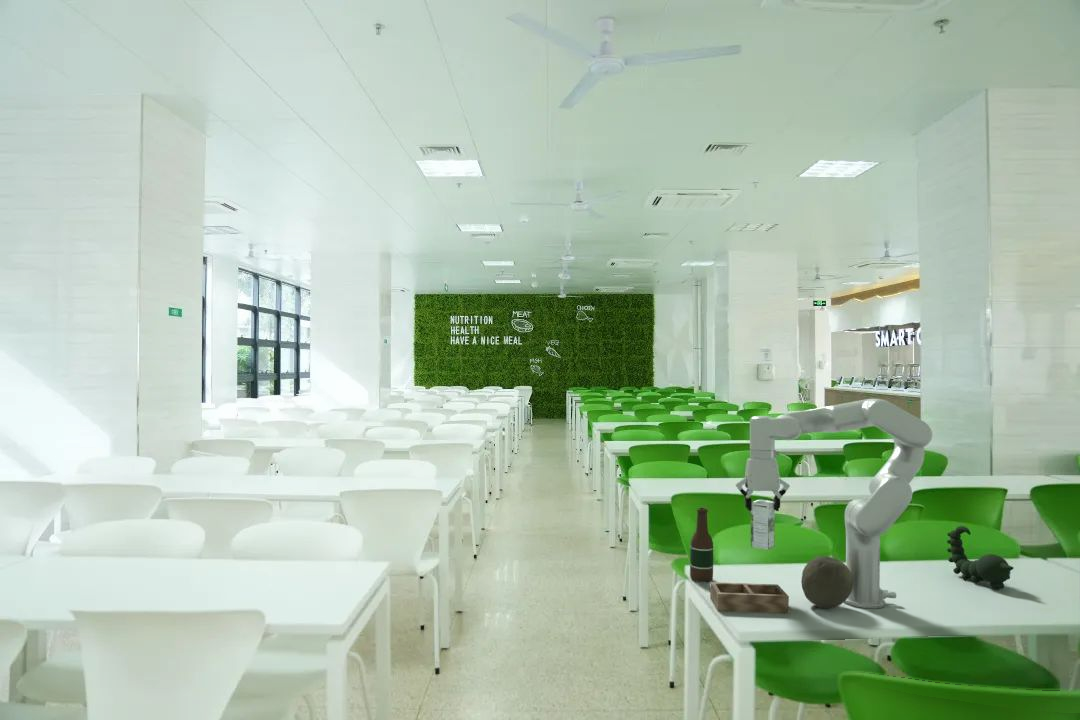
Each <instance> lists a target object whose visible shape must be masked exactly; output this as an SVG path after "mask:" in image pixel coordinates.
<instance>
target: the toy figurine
mask: <svg viewBox="0 0 1080 720" xmlns="http://www.w3.org/2000/svg"><path fill="white" fill-rule="evenodd" d="M963 533H967V534H968V535H969V536H970V535H971V531H970V529H969V528H968V527H967V526H964V525H959V526H957V527H955V529H953V530H951V531H950V532H947V536H948V537H950V538H949V539H948V540H946V542H947V544H948V545H950V548H947V549H946V551H947V553H951V557H948V562H949V563H954V564H955V567H954V568H953V573H954V574H955V575H960V573H961V579H962V580H963V581H967V580H970V581H971V582H972V583H974V584H978V583H979V582H986V583H989V587H990V588H991V589H993V590H995V591H997V590H998V591H1000V590H1002V589H1004V587H1005V584H1004V583H1005V582H1006V581H1008V580H1010V579H1011V571H1013V570H1014V568H1015V567H1014V566H1011V565H1010V564H1009V563H1008V562H1007V560H1006V559H1004V558H1003V557H1001V556H1000V555H998V554H994V553H988V554H984V555H982V556H980V557H979V558H978V559H977V560H969V559H968V557H967V555H966V553H965V548H964V547H963V540H962V538H961V537H962V535H961V534H963Z"/></svg>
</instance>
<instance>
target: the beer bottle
mask: <svg viewBox="0 0 1080 720" xmlns="http://www.w3.org/2000/svg"><path fill="white" fill-rule="evenodd" d="M696 512H697V515H696V528H695V532H693V534H692V535H691V538H690V545H689V546H690V547H689V550H690V551H689V577H690V579H691V580H692V581H694V582H698V583H710V582H713V580H714V579H713V578H714V542H713V538H712V536H711V535H710V533H709V529H708V512H709V511H708V508H707V507H698V508H696Z"/></svg>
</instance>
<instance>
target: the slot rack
mask: <svg viewBox="0 0 1080 720" xmlns="http://www.w3.org/2000/svg"><path fill="white" fill-rule="evenodd" d="M709 583H710V587H709V588H710V589H709V599H710V601H711V602H712V604H713V606H714V607H715V610H716V611H717V612H741V613H765V614H766V613H768V614H772V613H773V614H789V607H790V606H789V603H790V599H789V598H790V597H789V594H787V593H786V592H785V590H784V589H782V587H781V586H780V585H779V584H778V583H777V584H775V583H774V584H773V583H772V584H770V583H741V582H717V581H715V582H713V581H710V582H709Z"/></svg>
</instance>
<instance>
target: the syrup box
mask: <svg viewBox="0 0 1080 720" xmlns="http://www.w3.org/2000/svg"><path fill="white" fill-rule="evenodd" d="M751 502H752V510H751V511H750V547H751V548H753V549H759V550H760V549H761V550H767V551H768V550H771V549H772V548H773V547H775V545H776V543H775V526H776V525H775V524H776V522H775V516H776V515H775V513H776V510H775V502H774V501H772V500H768V499H766V500H765V499H757V500H754V501H751Z"/></svg>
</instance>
